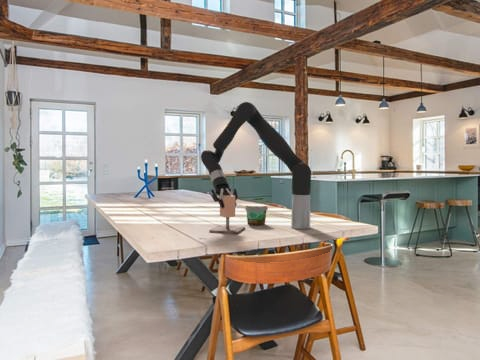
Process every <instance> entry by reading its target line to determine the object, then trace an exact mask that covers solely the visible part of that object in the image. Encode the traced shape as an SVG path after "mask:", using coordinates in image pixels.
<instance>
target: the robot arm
mask: <svg viewBox="0 0 480 360" xmlns="http://www.w3.org/2000/svg"><path fill="white" fill-rule="evenodd" d="M245 123H247V124H249V125H250V126H251V127H252V129H254V131H255V132H256V134H257V135H258V136H259V138H260V140H261V141H262V143H263V144H264V145H265V147H266V148H267V149H268V150H269V151H270V152H271V153H272V154H273V155H274V156H275V157H277V158H278V159H279V160H280V161H281V162H283V164H285V166H286V167H287V168H288V170H289V171H290V173H291V176H292V177H291V224H290V225H291V228H292V229H296V230H309V229H310V228H311V187H312V186H311V185H312V170H311V167H310V166H309V165H308V164H307V163H305V162H304V160H302V159H301V158H300V157H299V156H297V154H296V153H295V152H294V151H293V149H292V148H291V146H290V145H289V144H288V142H287V140H286V139H285V138H284V137H283V136H282V135H281V134H280V133H279V131H277V130H276V129H275V128H274V127H273V126H272V125H271V124H270V123H269V122H268V121H266V119H265V118H264V117H263V116H262V114H261V113H260V111H259V110H258V109H257V108H256V106H255V105H254V104H253V103H251V102H250V101H243V102H241V103H239V104H238V106H237V108H236V110H235V111H234V113H233V116H232V117H231V119H230V120H229V121H228V123H227V125H226V126H225V128H224V129H223V130H222V131H221V133H220V134H219V135H218V136H217V138H216V139H215V140H214V142H213V143H212V146H213V148H214V149H215V151H212V150H210V149H205V150H203V151H202V152H201V155H200V159H201V162H202V165H204V167H205V169H206V170H207V171H208V174H209V177H210V181H211V184H212V186H213V189H211V190H210V192H209V193H210V196H211V197H212V200H213V202H215V203H217V202H218V204H219V208H220V207H222V208H224V203H223V200H222V197H221V196H223V195H233V196H235V208H236V207H237V202H236V201H237V199H238V198H239V197H238V192H237V189H236V188H234V189H232V188H230V185H229V183H228V179H227V177H226V175H225V173H224V171H223V168H222V166H221V165H220V162H221V160H222V157H223V155H224V152H225V150H226V149H227V148H228V147H229V145H230V144H231V143H232V141H233V140H234V138H235V137H236V134H237V132H238V131H239V130H240V128H242V126H243V125H244V124H245Z"/></svg>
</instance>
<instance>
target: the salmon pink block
mask: <svg viewBox="0 0 480 360" xmlns="http://www.w3.org/2000/svg"><path fill="white" fill-rule="evenodd" d="M221 197H222V200H223V203H224V208H222V207H220V206H219V216H220V217H223V218H226V217H229V218H231V217H232V218H233V217H234V218H235V217H236V207H235V196H233V194H232V195H223V196H221Z"/></svg>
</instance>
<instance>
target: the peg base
mask: <svg viewBox="0 0 480 360" xmlns="http://www.w3.org/2000/svg"><path fill="white" fill-rule="evenodd" d="M245 230H246V227H245V226H236V225H235V226H233V225H230V217H225V225H221V224H220V225H217V226H214V227H212V228H211V229H209V231H208V232H209V233H213V234H226V235H227V234H229V235H239V234H240V233H242V232H243V231H245Z"/></svg>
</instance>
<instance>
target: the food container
mask: <svg viewBox="0 0 480 360" xmlns="http://www.w3.org/2000/svg"><path fill="white" fill-rule="evenodd" d="M267 206H268V205H266V206H249V205H245V208H244V209H245V210H246V220H247V225H249V226H254V227H255V226H256V227H257V226H264V225H265V224H266V218H267V217H266V216H267V211H268V210H269V209H268V207H267Z"/></svg>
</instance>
